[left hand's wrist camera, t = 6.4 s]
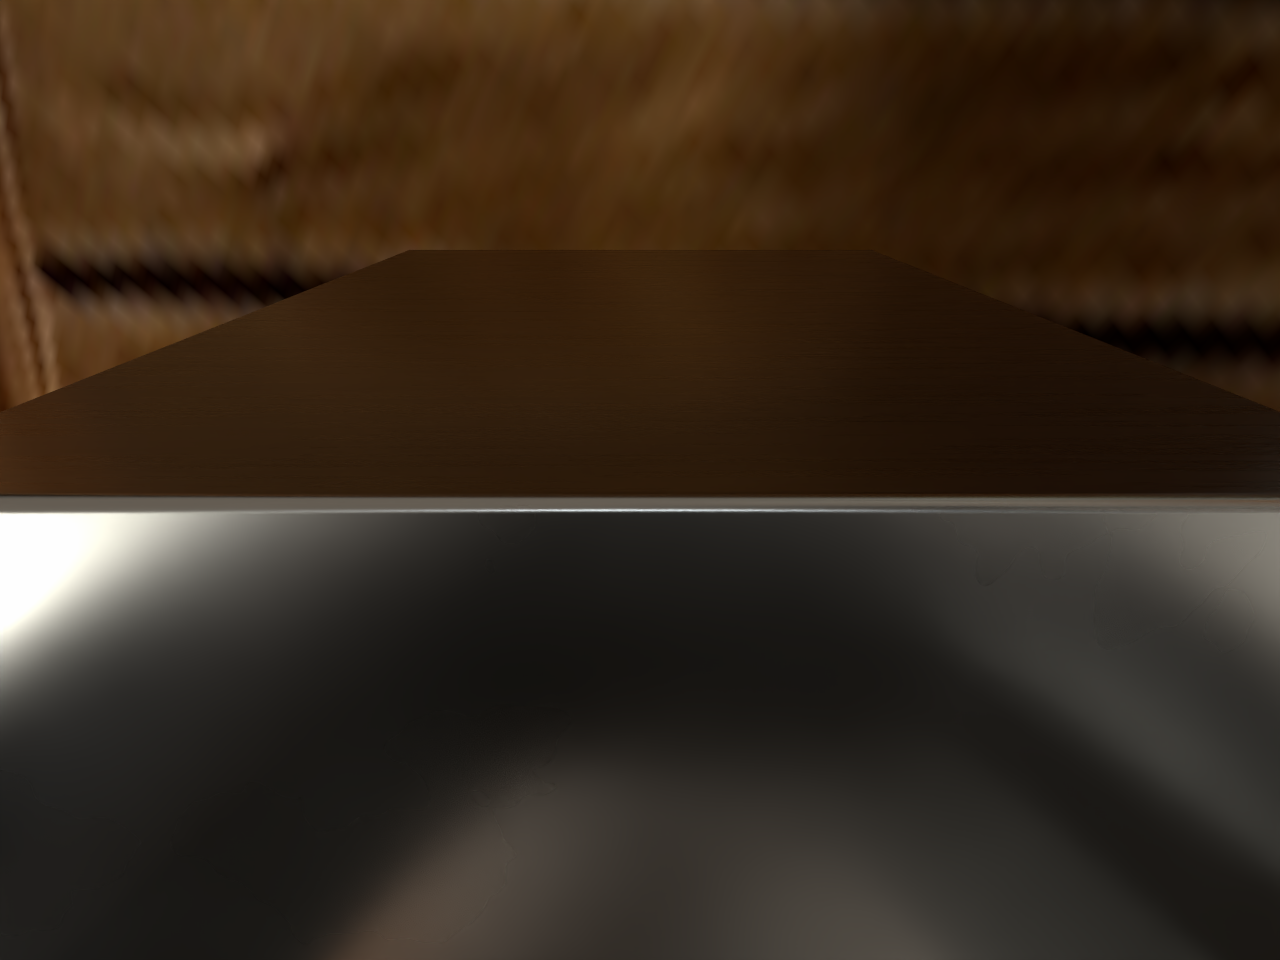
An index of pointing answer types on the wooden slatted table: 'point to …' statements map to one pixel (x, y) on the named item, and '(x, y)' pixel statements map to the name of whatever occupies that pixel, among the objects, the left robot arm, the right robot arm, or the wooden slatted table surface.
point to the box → (640, 628)
